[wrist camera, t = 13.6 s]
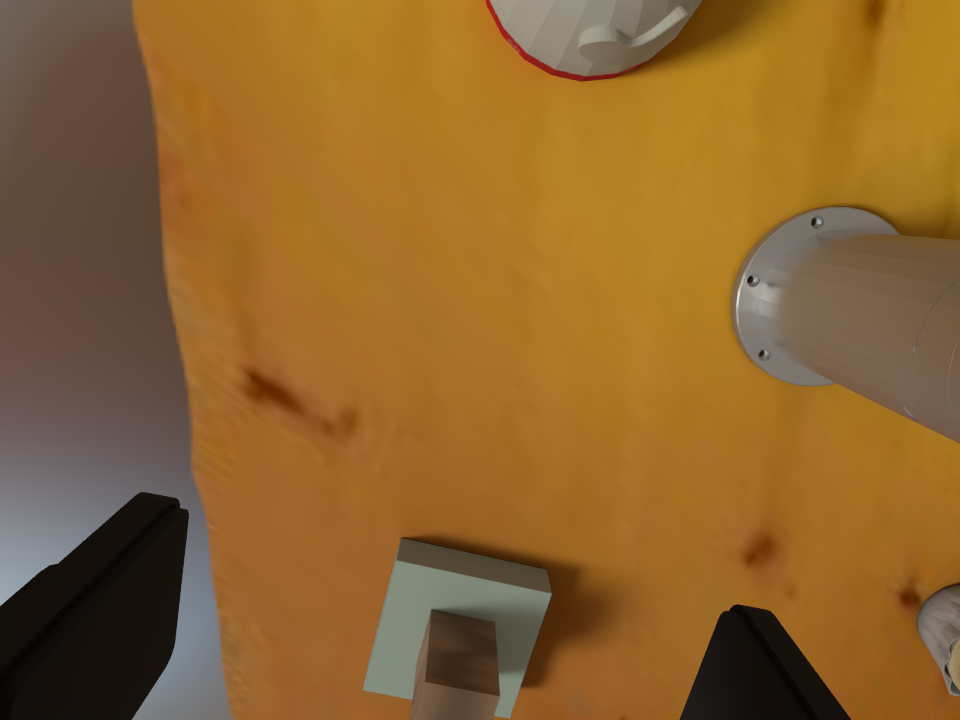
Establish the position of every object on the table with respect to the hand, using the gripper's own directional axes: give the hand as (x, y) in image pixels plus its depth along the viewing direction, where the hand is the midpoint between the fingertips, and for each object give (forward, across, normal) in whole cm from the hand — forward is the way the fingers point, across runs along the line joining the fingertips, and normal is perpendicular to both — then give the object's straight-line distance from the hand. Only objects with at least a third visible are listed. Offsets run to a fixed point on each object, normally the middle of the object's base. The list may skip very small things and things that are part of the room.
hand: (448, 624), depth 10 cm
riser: (+33, -5, +25) cm, 42 cm away
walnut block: (+30, -5, +25) cm, 39 cm away
